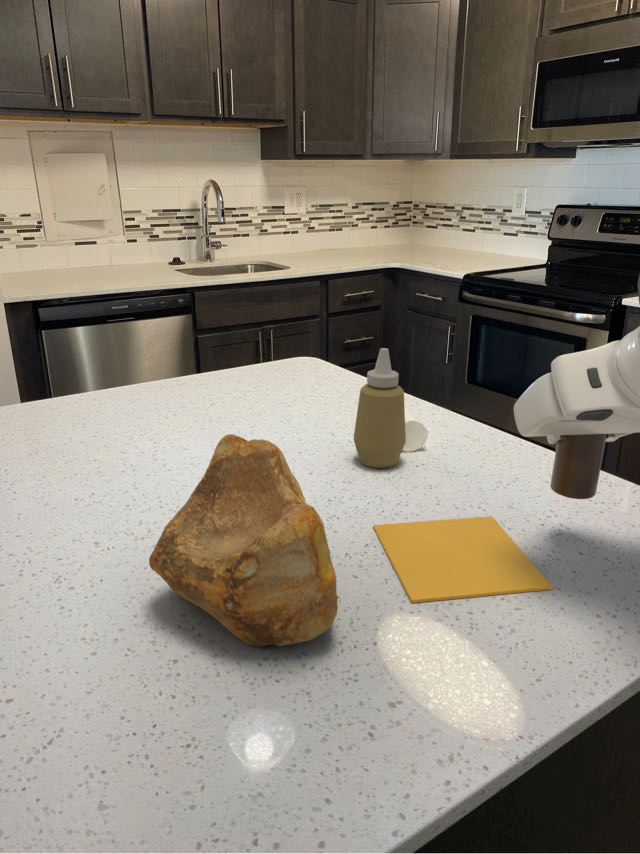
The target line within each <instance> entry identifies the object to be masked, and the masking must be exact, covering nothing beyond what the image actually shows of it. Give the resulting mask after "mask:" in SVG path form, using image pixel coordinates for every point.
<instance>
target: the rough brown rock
mask: <svg viewBox="0 0 640 854" xmlns="http://www.w3.org/2000/svg"><path fill="white" fill-rule="evenodd" d="M148 562H149V564H148V565H149V567H150V569H151V570H152V571H153V572H155V573H156V574H157V575H159V576H160V578H161V579H162V581H164V582H165V583H166V584H167V585H168V586H169V587H170V589H171V590H172V591H173V592H174V593H176V594H177V595H179V596H180V597H182V598H183V599H184V600H186V601H188V602H189V603H191V604H193V605H195V606H197V607H199V608H200V609H201V610H203V611H204V612H206V613H207V614H209V615H210V616H211V617H213V618H214V619H215V620H216V621H218V622H219V623H220V624H221V625H222V626H223V627H225V628H226V629H227V630H228V631H229V632H230V633H231V634H232V635H234V636H235V637H236V638H238V639H239V640H241V641H242V642H244V643H245V644H248V645H250V646H254V647H256V648H260V647H263V646H265V645H273V646H277V647H283V646H289V645H294V644H299V643H304V642H308V641H312V640H313V639H315V638H316V637H318V636H320V635H321V634H323V633H325V632H326V631H327V630H328V629H330V627H331V626H332V625H333V624H334V621H335V619H336V617H337V614H338V601H339V600H338V599H339V598H338V593H337V576H336V572H335V567H334V565H333V564H334V563H333V561H332V558H331V551H330V547H329V543H328V539H327V535H326V530H325V525H324V521H323V520H322V518H321V516H320V515H319V514H318V512H317V510H316V508H315V507H314V506H312V505H310V504H308V503H307V502H306V498H305V496H304V493H303V490H302V487H301V485H300V482H299V481H298V479H297V478H296V476H295V475H294V473H292V471H291V469H290V466H289V464H288V462H287V460H286V458H285V455H284V453H283V451H282V450H281V449H280V448H279V446H278V445H276V444H275V443H273V442H272V441H270V440H265V439H263V438H262V439H250V440H248V439H246V438H243V437H241V436H239V435H236V434H234V433H233V434H232V433H231V434H230V433H229V434H226V435H224V436H223V437H222V438H220V440H219V441H218V443H217V444H216V447H215V448H214V451H213V454H212V457H211V459H210V461H209V464H208V466H207V468H206V470H205V472H204V474H203V476H202V478H201V479H200V481H199V482H198V483H197V485H196V486H195V488H194V490H193V491H192V492H191V494H190V496H189V498H188V499H187V501H186V502H185V503H184V505H183V506H182V507H181V508H180V509H179V510H177V512H176V514H175V515H174V516H173V517H172V518H171V520H170V521H169V522H168V523H167V524H166V525H165V527H164V528H163V531H162V533H161V535H160V537H159V538H158V540H157V542H156V544H155V546H154V547H153V550H152V552H151V554H150V556H149V559H148Z"/></svg>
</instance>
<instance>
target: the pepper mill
mask: <svg viewBox="0 0 640 854" xmlns="http://www.w3.org/2000/svg"><path fill="white" fill-rule="evenodd" d="M606 436H607V434H585V435H566V437H567V439H566V440H565V441H563V443H561V444H556V447H555V452H554V453H555V454H554V459H553V467H552V473H551V477H550V478H551V479H550V484H549V485H550V489H551V491H552V492H553V493H556V494H557V495H559V496H562V497H565V498H567V499H574V500H588V499H592V498H594V497H595V496H596V495H597V490H598V484H599V479H600V473H601V467H602V462H603V458H604V453H605V452H604V451H605V448H606V443H607V442H606Z"/></svg>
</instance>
